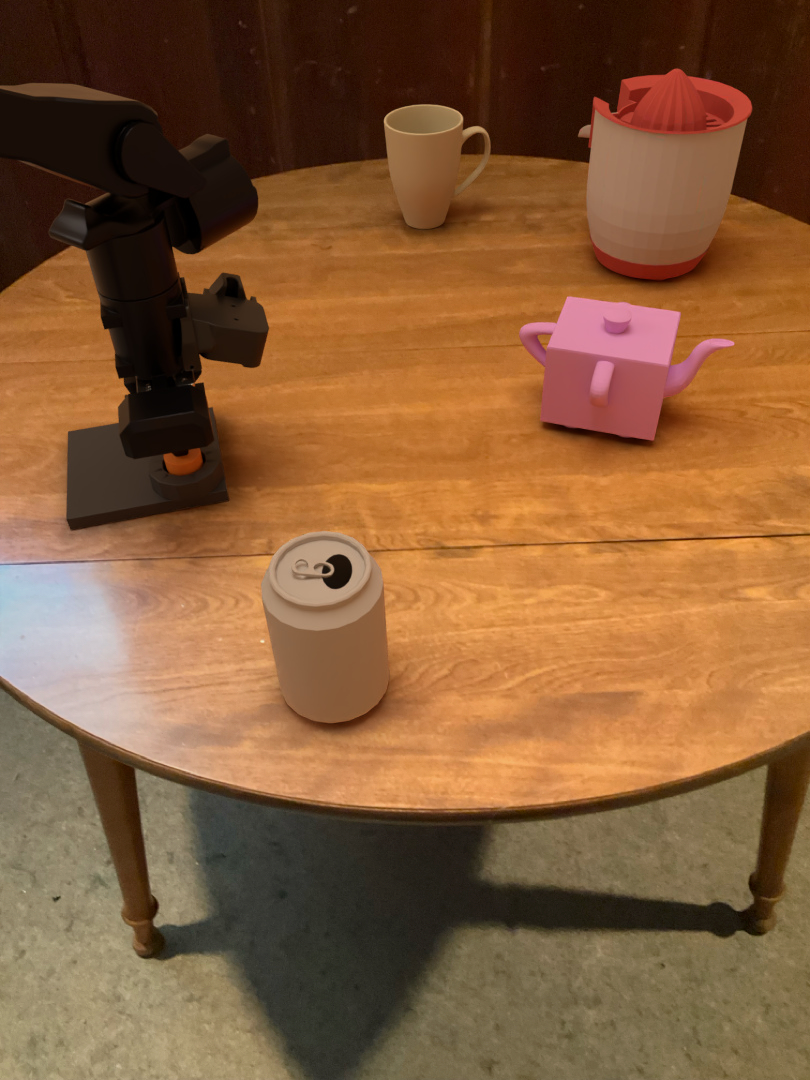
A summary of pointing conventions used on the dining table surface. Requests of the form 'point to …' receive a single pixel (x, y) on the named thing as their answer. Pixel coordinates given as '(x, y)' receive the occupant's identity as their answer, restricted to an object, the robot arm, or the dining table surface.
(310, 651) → the can
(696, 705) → the dining table surface
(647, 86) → the citrus juicer
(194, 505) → the dark grey flat block
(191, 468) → the button
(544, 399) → the teapot
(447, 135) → the mug
